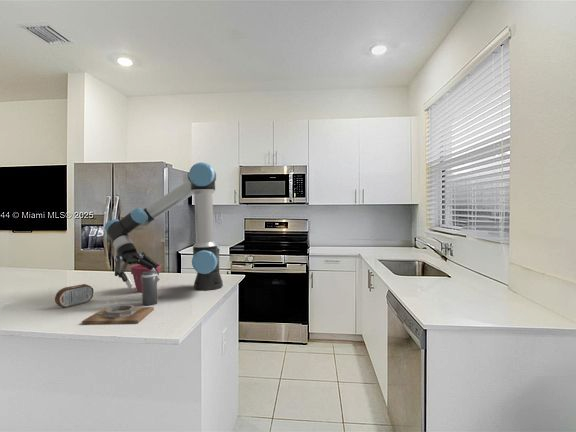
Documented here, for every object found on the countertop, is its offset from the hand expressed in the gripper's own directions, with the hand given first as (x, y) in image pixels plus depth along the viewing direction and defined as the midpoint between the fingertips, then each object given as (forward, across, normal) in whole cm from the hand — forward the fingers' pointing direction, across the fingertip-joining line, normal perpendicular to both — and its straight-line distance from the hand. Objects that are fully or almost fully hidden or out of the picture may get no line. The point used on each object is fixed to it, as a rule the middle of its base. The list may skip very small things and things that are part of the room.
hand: (145, 283), depth 143 cm
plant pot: (-8, -15, -21) cm, 28 cm away
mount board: (+12, +16, -1) cm, 20 cm away
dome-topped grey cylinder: (+8, -1, -5) cm, 9 cm away
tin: (-11, +17, -24) cm, 31 cm away
